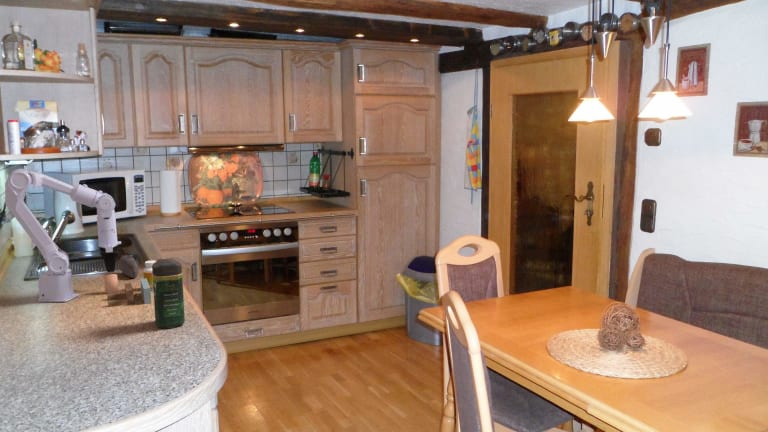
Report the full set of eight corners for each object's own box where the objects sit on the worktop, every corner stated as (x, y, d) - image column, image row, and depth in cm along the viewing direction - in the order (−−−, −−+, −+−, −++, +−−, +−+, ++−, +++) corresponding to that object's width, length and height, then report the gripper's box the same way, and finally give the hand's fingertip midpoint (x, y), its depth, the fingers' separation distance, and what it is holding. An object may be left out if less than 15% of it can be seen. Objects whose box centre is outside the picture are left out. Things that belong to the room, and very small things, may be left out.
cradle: (108, 306, 191) (107, 292, 190) (107, 299, 199) (106, 285, 199) (134, 303, 194) (133, 289, 193) (132, 296, 202) (131, 283, 202)
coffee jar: (187, 326, 171) (183, 261, 169) (157, 330, 168) (153, 265, 165) (182, 316, 180) (178, 255, 177) (154, 320, 177) (149, 258, 174)
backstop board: (144, 304, 193) (143, 288, 193) (141, 293, 206) (140, 279, 205) (151, 303, 194) (150, 288, 193) (147, 292, 207) (146, 278, 206)
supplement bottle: (155, 291, 208) (153, 263, 207) (141, 290, 209) (139, 263, 208) (164, 287, 213) (162, 260, 212) (150, 286, 214) (148, 259, 213)
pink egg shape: (103, 294, 205) (101, 276, 204) (109, 291, 209) (108, 274, 208) (114, 294, 205) (113, 276, 204) (120, 291, 209) (119, 274, 208)
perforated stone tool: (142, 279, 226) (141, 260, 225) (127, 281, 223) (126, 262, 222) (133, 271, 238) (131, 253, 237) (118, 273, 235) (117, 255, 234)
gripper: (121, 232, 199) (124, 272, 201) (119, 225, 212) (122, 263, 214) (97, 234, 196) (101, 275, 198) (96, 227, 209) (100, 266, 211)
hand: (110, 269), depth 206 cm, fingers open, 7 cm apart
